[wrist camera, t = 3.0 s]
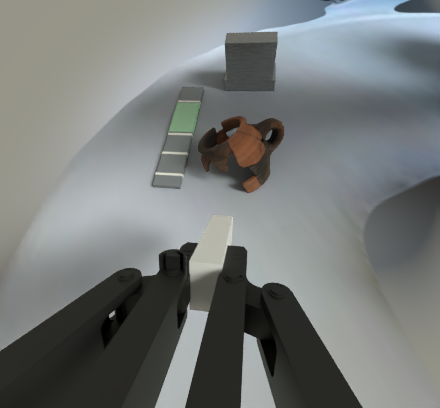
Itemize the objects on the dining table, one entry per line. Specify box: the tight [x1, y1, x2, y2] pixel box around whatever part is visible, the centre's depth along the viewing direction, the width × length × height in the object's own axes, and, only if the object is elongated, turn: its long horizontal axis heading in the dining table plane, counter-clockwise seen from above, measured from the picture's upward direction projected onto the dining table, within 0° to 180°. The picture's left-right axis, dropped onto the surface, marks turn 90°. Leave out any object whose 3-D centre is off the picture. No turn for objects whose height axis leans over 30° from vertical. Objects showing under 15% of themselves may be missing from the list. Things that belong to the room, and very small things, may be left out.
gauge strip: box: [153, 87, 204, 189], centre depth 37 cm, size 22×4×1 cm, turn 173°
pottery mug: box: [198, 116, 284, 193], centre depth 32 cm, size 12×10×8 cm
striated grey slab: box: [224, 32, 277, 91], centre depth 39 cm, size 5×9×8 cm, turn 83°
